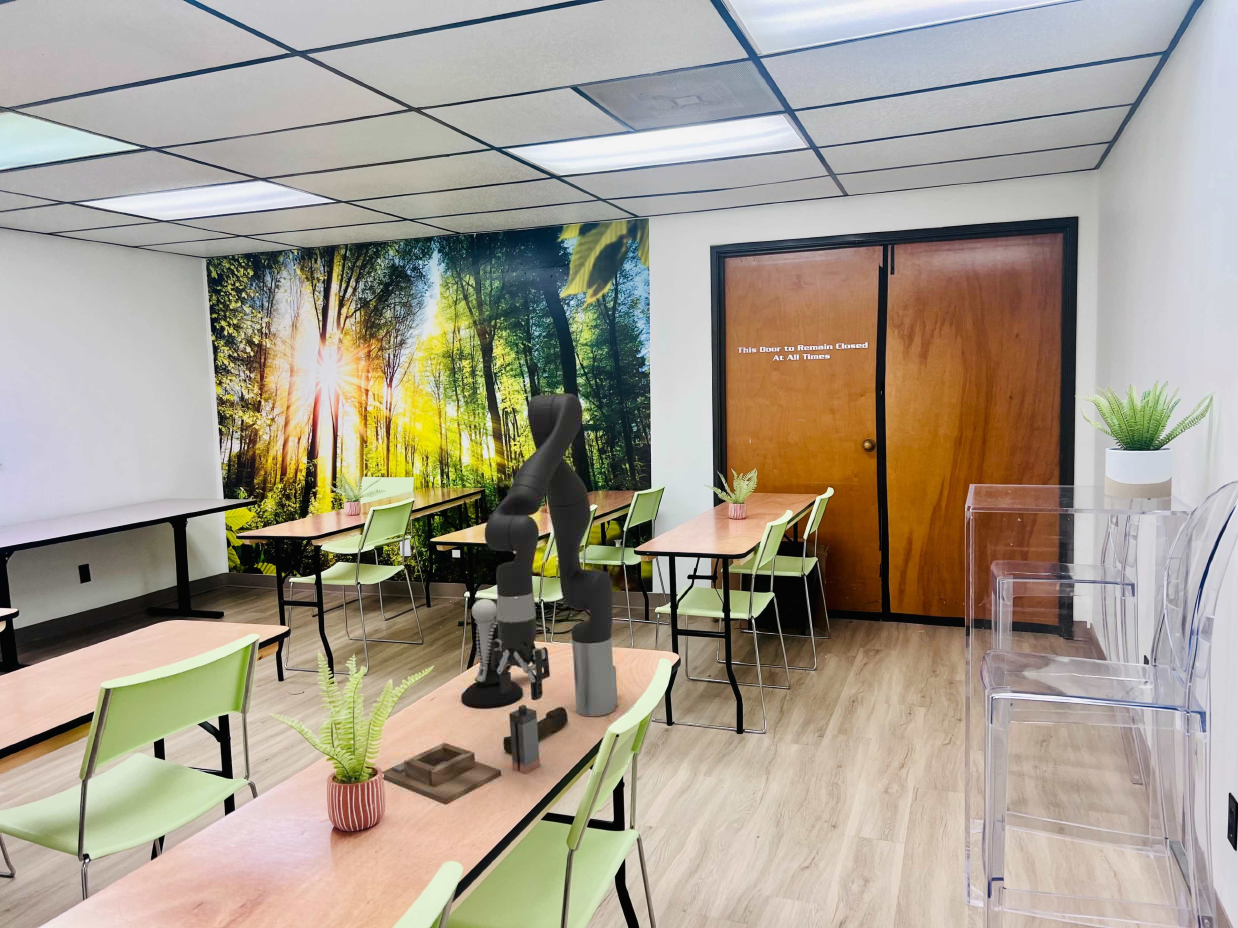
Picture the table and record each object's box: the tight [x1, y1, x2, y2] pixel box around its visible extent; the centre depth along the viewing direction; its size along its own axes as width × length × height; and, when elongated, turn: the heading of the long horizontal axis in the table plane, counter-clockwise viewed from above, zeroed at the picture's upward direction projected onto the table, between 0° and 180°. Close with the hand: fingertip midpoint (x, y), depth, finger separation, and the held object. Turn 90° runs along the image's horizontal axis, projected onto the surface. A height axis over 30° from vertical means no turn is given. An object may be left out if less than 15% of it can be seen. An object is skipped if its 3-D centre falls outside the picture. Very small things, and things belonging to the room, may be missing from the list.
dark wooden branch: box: [502, 706, 569, 755], centre depth 185 cm, size 19×4×5 cm, turn 141°
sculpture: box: [460, 598, 524, 710], centre depth 214 cm, size 15×24×25 cm, turn 147°
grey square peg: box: [508, 704, 541, 775], centre depth 170 cm, size 4×4×13 cm
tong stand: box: [381, 742, 502, 805], centre depth 169 cm, size 14×20×4 cm
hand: (521, 695), depth 170 cm, fingers open, 8 cm apart
